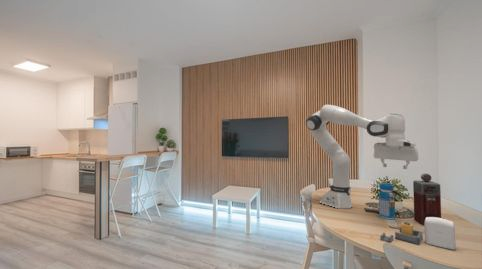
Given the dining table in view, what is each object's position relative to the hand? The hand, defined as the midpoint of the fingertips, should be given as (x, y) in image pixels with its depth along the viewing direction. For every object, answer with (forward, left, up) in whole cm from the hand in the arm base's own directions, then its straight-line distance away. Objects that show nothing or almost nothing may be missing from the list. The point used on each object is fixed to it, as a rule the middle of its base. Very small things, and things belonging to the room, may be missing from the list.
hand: (394, 168), depth 122 cm
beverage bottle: (-7, +12, -32) cm, 35 cm away
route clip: (+1, -23, -32) cm, 39 cm away
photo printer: (+19, -13, -32) cm, 39 cm away
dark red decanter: (+12, +16, -32) cm, 38 cm away
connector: (+7, -14, -31) cm, 35 cm away
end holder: (+8, -14, -32) cm, 36 cm away
